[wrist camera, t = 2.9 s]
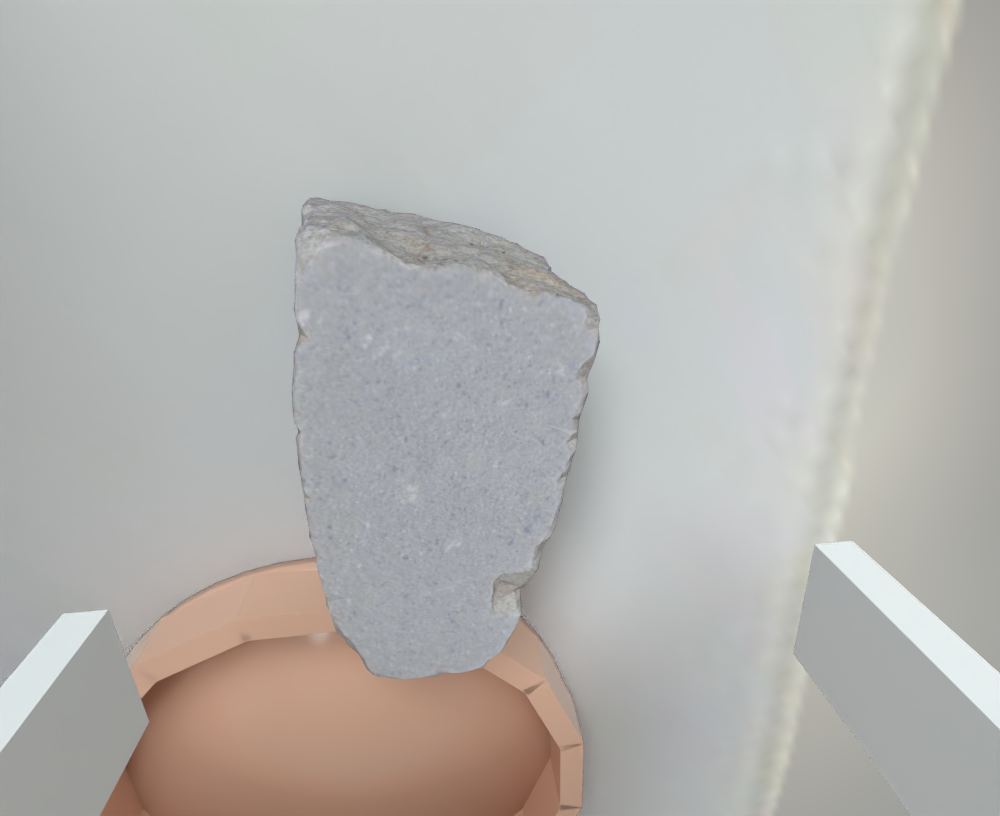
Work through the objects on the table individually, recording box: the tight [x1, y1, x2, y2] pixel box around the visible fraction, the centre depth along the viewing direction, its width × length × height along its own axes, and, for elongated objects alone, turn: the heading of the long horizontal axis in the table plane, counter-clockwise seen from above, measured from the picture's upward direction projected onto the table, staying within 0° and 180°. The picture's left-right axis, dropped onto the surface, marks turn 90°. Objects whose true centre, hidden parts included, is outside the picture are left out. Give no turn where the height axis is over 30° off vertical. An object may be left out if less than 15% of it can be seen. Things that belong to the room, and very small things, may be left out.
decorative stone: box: [292, 198, 600, 680], centre depth 19 cm, size 15×7×10 cm
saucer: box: [100, 558, 584, 816], centre depth 26 cm, size 21×21×3 cm
